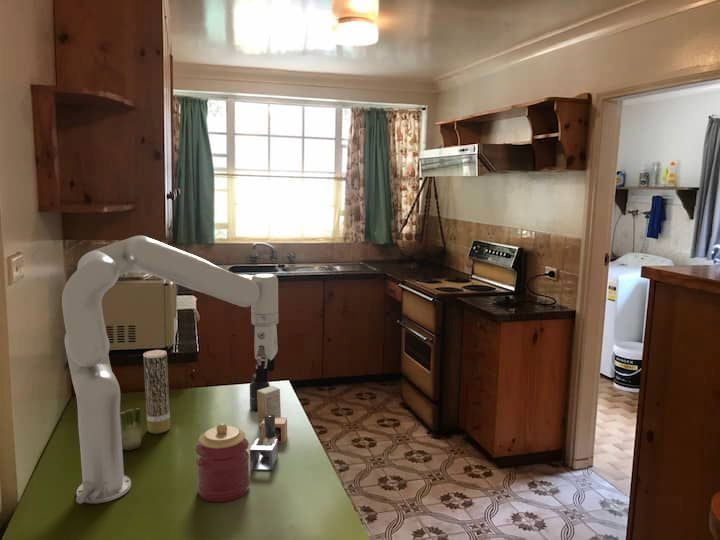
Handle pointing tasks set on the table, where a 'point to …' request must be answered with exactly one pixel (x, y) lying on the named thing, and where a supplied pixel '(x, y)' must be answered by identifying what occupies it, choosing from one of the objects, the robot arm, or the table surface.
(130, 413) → the fennel bulb
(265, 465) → the sleeve
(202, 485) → the canister
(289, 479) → the table surface
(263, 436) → the socket
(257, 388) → the supplement bottle
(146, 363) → the paper tube
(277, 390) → the skincare box
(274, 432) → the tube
